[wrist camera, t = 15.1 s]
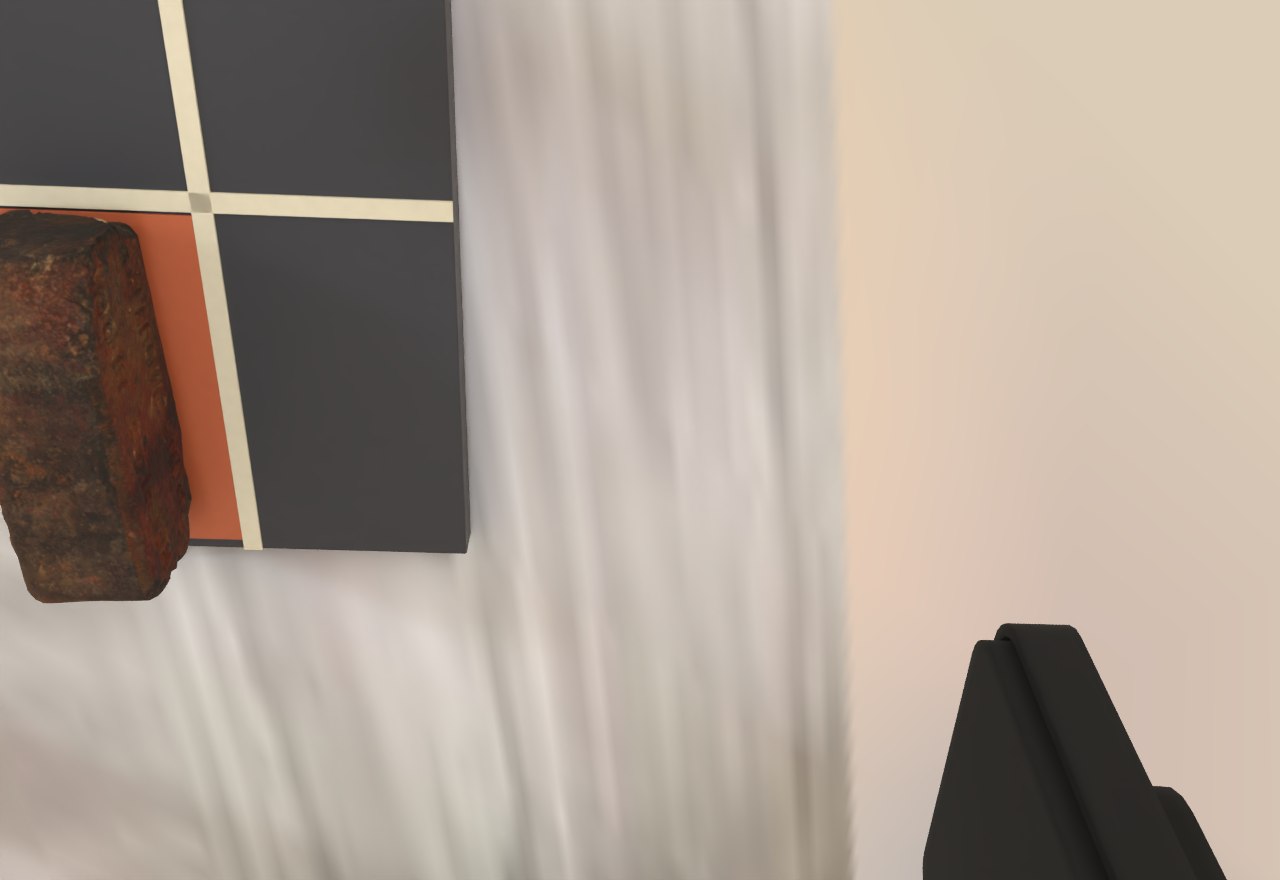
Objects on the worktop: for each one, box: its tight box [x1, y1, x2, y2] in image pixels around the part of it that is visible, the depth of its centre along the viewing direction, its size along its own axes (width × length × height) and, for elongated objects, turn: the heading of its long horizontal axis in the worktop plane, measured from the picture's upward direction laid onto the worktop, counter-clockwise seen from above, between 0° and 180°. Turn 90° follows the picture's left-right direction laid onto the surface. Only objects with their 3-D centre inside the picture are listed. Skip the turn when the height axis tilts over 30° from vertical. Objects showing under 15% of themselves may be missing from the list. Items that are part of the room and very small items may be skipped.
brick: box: [0, 210, 192, 603], centre depth 35 cm, size 11×4×5 cm, turn 0°
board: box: [0, 0, 470, 554], centre depth 35 cm, size 14×24×1 cm, turn 178°
